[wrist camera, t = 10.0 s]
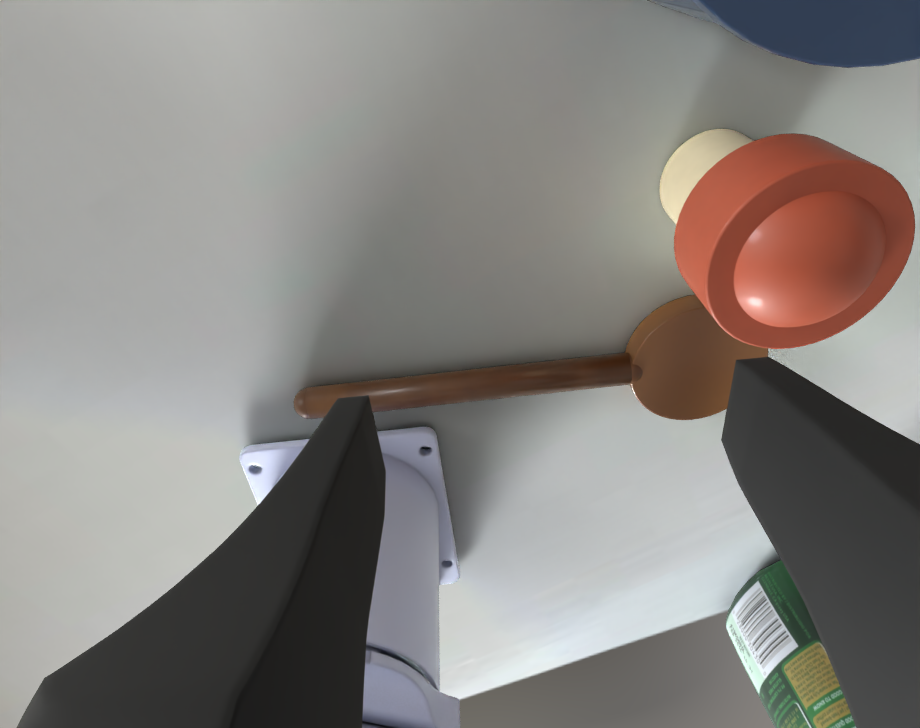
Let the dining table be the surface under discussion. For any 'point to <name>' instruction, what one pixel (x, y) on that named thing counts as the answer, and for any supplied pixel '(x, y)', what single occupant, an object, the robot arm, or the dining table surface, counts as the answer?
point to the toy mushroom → (784, 233)
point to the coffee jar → (785, 653)
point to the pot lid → (825, 29)
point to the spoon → (582, 372)
